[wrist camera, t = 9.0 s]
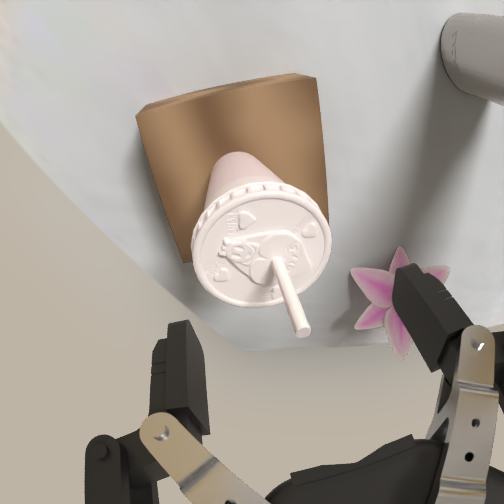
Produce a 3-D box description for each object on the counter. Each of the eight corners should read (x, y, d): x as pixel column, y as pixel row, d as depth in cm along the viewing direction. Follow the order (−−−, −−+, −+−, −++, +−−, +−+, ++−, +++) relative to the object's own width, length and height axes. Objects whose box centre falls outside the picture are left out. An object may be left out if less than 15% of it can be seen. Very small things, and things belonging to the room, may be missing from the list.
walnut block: (294, 73, 23) (316, 78, 19) (310, 201, 30) (329, 228, 26) (145, 105, 22) (135, 116, 18) (184, 230, 29) (183, 262, 25)
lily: (434, 241, 37) (465, 257, 28) (424, 324, 40) (447, 358, 31) (346, 240, 39) (357, 257, 30) (342, 326, 42) (349, 363, 33)
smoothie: (261, 226, 25) (320, 385, 13) (179, 205, 23) (175, 374, 11) (296, 150, 22) (407, 275, 10) (208, 120, 20) (232, 228, 8)
